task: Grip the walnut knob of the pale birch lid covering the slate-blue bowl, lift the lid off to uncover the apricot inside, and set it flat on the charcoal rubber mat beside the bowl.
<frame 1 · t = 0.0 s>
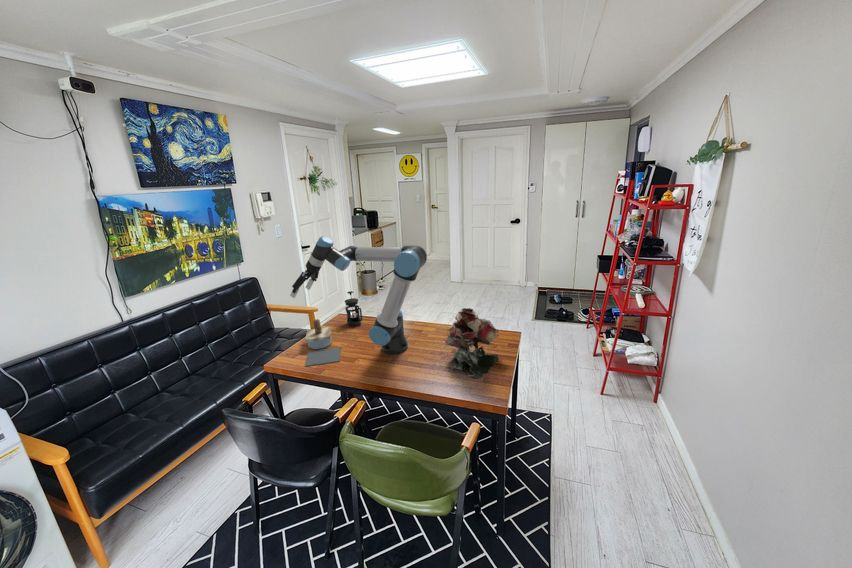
hand: (300, 292, 195), 36 cm above the table, tool tilted 35°, fingers open, 13 cm apart
rose bouquet: (469, 361, 186), on the table
lid: (318, 335, 212), point 6 cm above the table, touching bowl
mat: (323, 357, 198), on the table
bowl: (320, 344, 213), on the table
french press: (354, 324, 240), on the table
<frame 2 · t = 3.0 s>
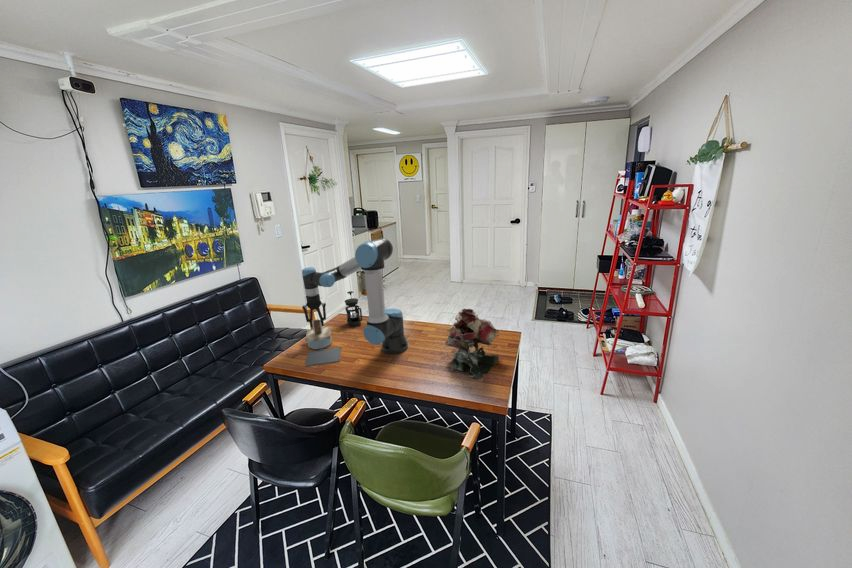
hand: (318, 331, 211), 9 cm above the table, tool pointing down, fingers closed on lid, 4 cm apart
lid: (318, 335, 212), point 6 cm above the table, touching bowl, gripper
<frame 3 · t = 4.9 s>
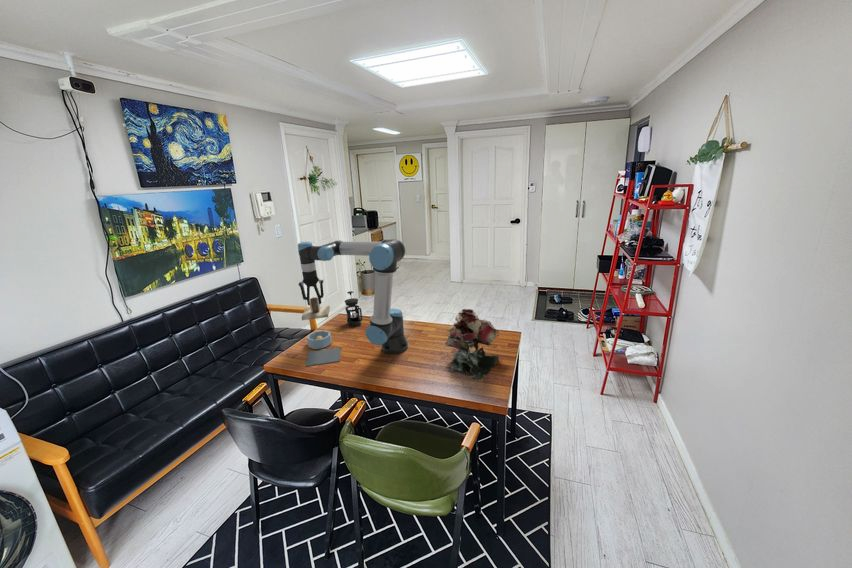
hand: (315, 309, 201), 24 cm above the table, tool pointing down, fingers closed on lid, 4 cm apart
lid: (316, 314, 202), point 22 cm above the table, touching gripper
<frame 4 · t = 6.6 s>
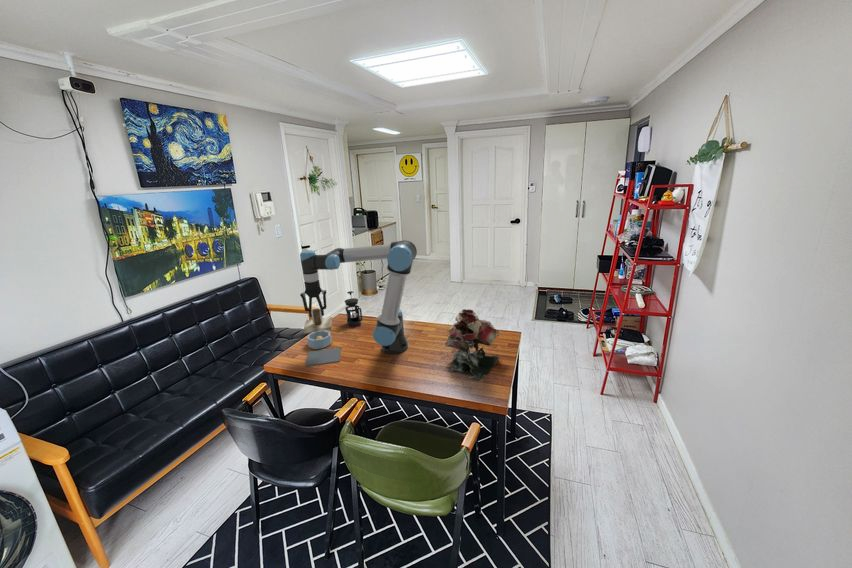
hand: (317, 321, 192), 22 cm above the table, tool pointing down, fingers closed on lid, 4 cm apart
lid: (318, 326, 192), point 19 cm above the table, touching gripper
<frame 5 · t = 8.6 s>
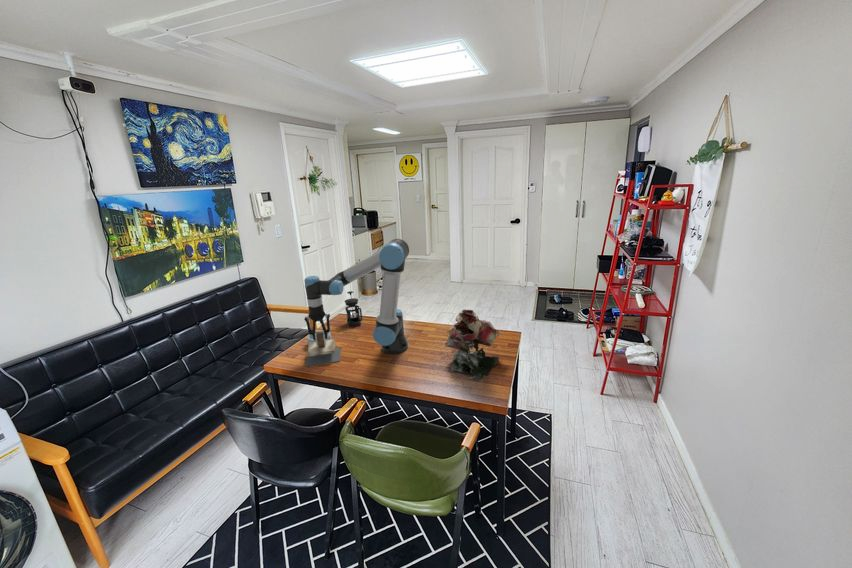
hand: (321, 344, 196), 8 cm above the table, tool pointing down, fingers closed on lid, 4 cm apart
lid: (322, 348, 197), point 5 cm above the table, touching gripper
when the fingers open (4 cm above the table, at t = 10.1 s): lid drops 1 cm, resting on mat.
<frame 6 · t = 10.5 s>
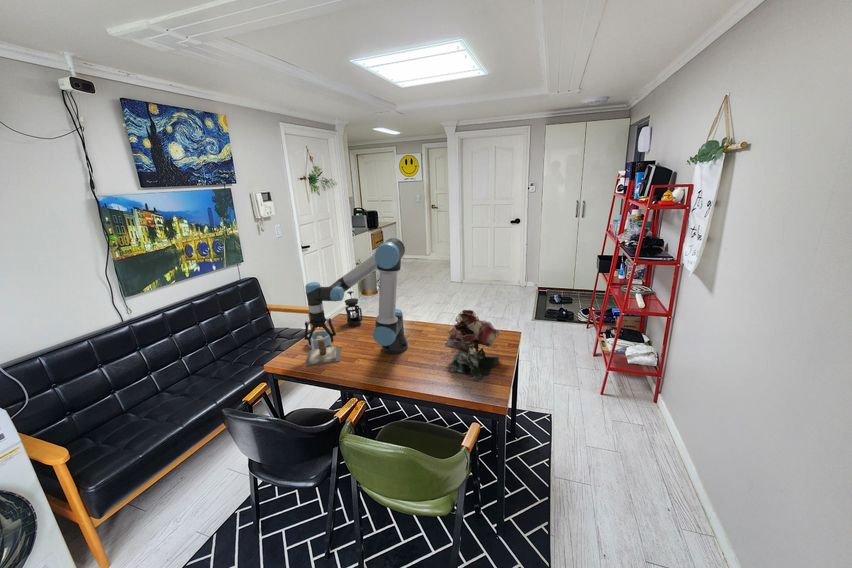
hand: (322, 348, 196), 5 cm above the table, tool pointing down, fingers open, 9 cm apart
lid: (323, 356, 198), point 1 cm above the table, touching mat
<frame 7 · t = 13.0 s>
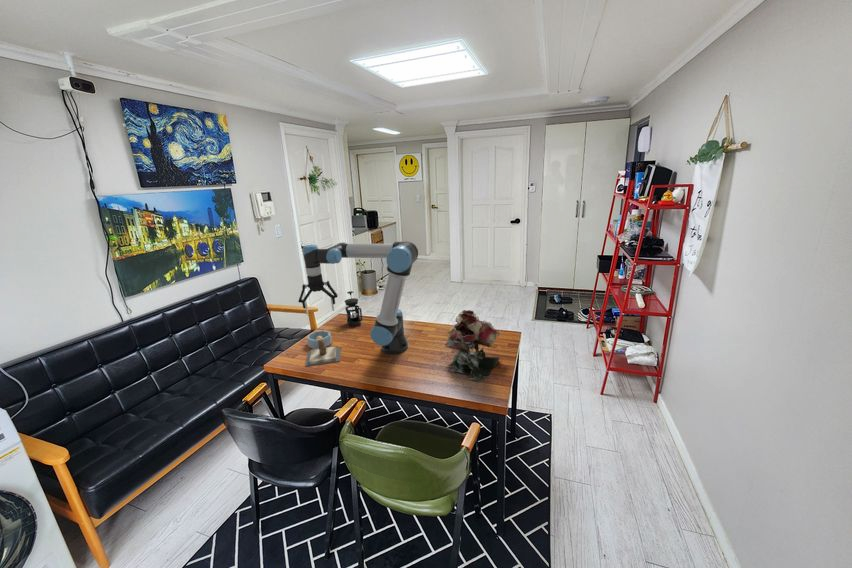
hand: (320, 311, 193), 26 cm above the table, tool pointing down, fingers open, 13 cm apart
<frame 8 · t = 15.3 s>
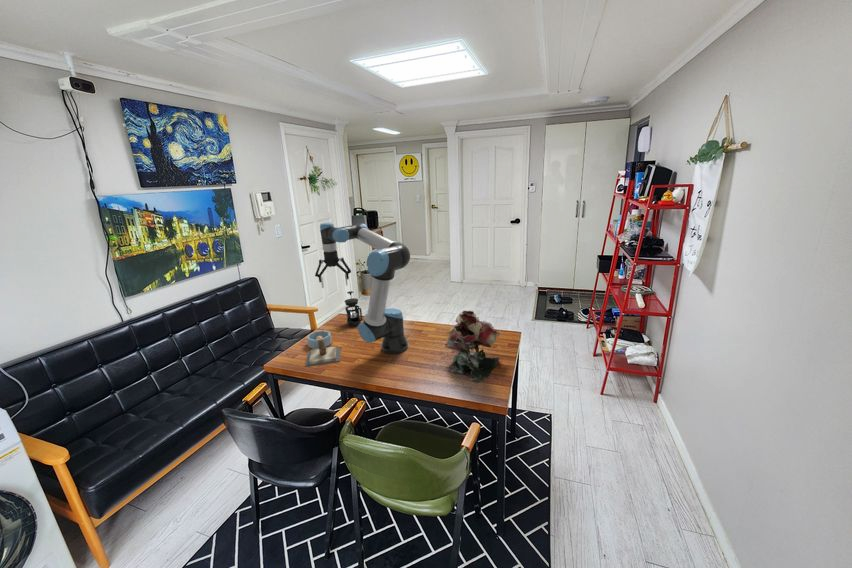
hand: (335, 286, 207), 35 cm above the table, tool pointing down, fingers open, 13 cm apart
at the end: lid inside the target area on the mat (0.0 cm from its centre), point 0.6 cm above the mat's base; lid tilted 0°; the gripper is holding nothing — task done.
